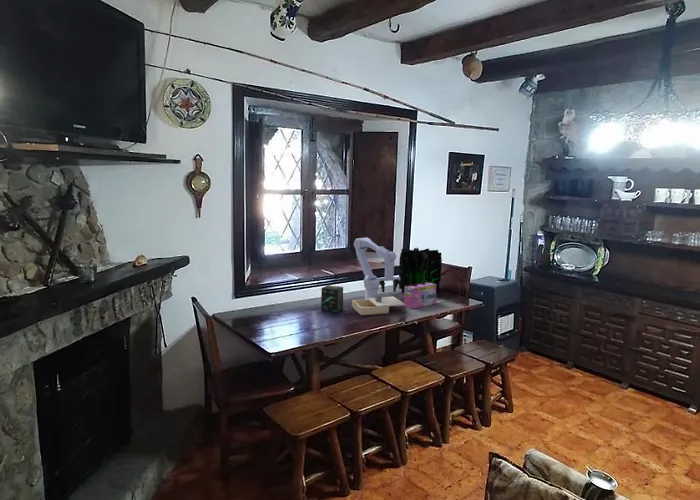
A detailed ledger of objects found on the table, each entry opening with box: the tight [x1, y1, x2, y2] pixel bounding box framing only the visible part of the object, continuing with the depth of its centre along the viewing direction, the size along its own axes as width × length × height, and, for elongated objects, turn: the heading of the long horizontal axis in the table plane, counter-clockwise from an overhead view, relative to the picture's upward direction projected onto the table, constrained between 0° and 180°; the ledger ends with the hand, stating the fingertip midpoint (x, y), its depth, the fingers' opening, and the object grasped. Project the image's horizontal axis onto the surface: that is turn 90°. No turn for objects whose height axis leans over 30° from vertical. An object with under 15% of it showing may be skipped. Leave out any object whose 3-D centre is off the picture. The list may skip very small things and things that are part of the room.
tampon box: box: [320, 284, 344, 314], centre depth 290 cm, size 11×9×15 cm
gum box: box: [403, 282, 437, 309], centre depth 307 cm, size 24×8×14 cm, turn 128°
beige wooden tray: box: [351, 298, 390, 316], centre depth 293 cm, size 18×18×4 cm
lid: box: [368, 294, 405, 307], centre depth 295 cm, size 18×18×5 cm
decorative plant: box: [397, 247, 443, 294], centre depth 343 cm, size 29×30×30 cm
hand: (388, 291), depth 298 cm, fingers open, 7 cm apart
